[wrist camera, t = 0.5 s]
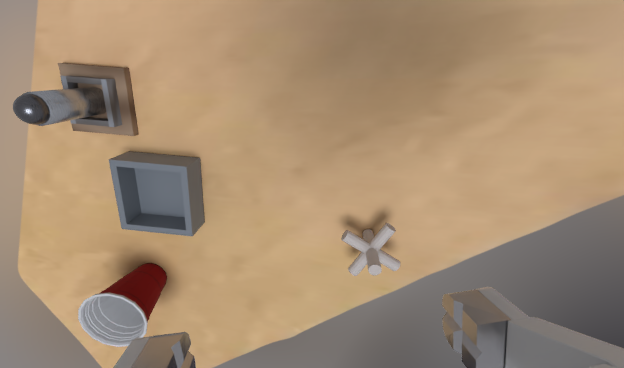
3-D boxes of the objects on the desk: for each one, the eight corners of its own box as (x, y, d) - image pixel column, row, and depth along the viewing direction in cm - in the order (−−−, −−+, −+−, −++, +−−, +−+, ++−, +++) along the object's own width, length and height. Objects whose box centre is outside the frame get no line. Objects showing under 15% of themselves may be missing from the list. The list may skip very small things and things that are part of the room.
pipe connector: (374, 267, 54) (382, 308, 45) (328, 240, 53) (326, 276, 43) (409, 227, 50) (426, 262, 41) (361, 197, 49) (366, 227, 40)
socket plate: (64, 63, 45) (46, 62, 42) (128, 68, 44) (114, 68, 42) (79, 129, 49) (63, 132, 46) (138, 134, 48) (126, 138, 45)
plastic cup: (190, 290, 59) (156, 342, 48) (144, 301, 61) (101, 353, 50) (164, 245, 56) (121, 289, 45) (116, 258, 58) (64, 303, 47)
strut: (81, 85, 45) (-3, 91, 34) (107, 88, 45) (31, 94, 33) (87, 112, 46) (8, 127, 35) (112, 115, 46) (40, 130, 35)
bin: (129, 151, 49) (108, 159, 45) (200, 157, 49) (186, 166, 44) (139, 215, 54) (121, 228, 49) (204, 222, 53) (192, 236, 49)
